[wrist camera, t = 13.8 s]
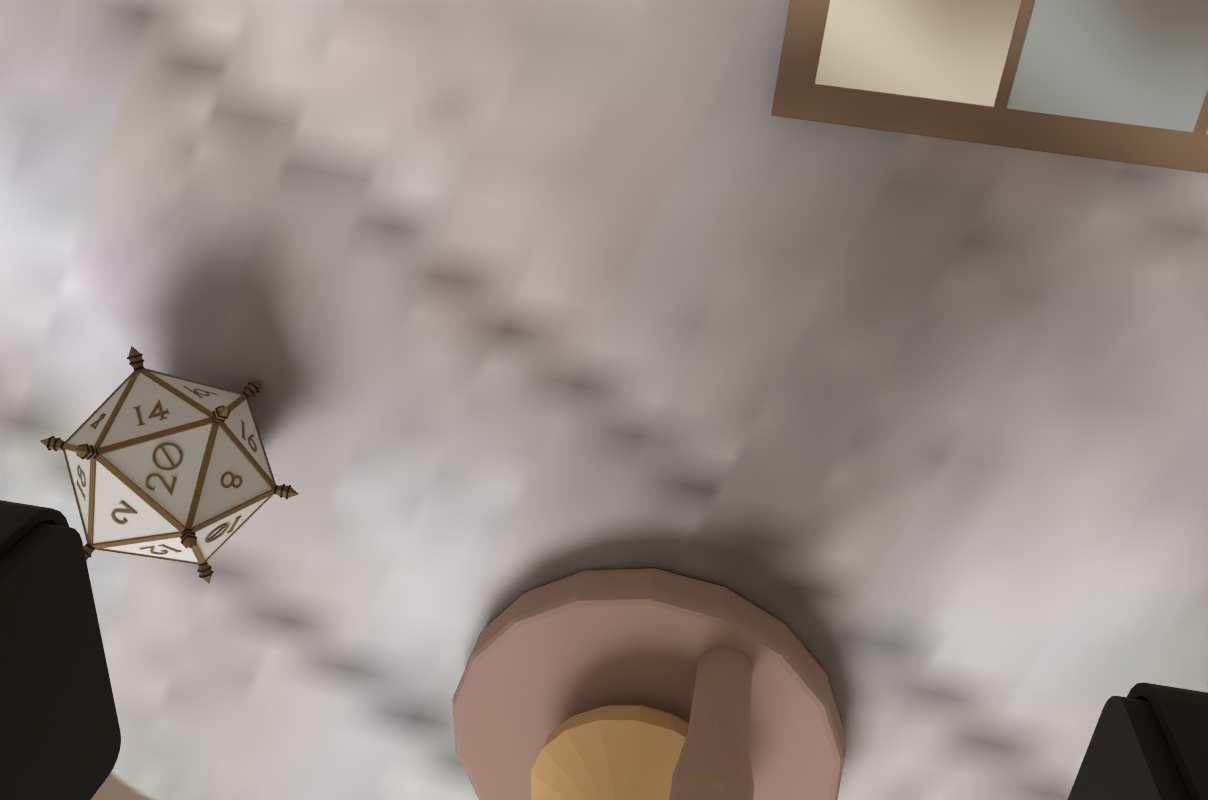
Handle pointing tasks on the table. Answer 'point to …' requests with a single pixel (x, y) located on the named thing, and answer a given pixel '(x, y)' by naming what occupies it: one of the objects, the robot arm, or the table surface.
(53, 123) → the table surface
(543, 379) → the table surface
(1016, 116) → the board
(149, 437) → the game die
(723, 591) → the wooden pedestal stand
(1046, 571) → the table surface
